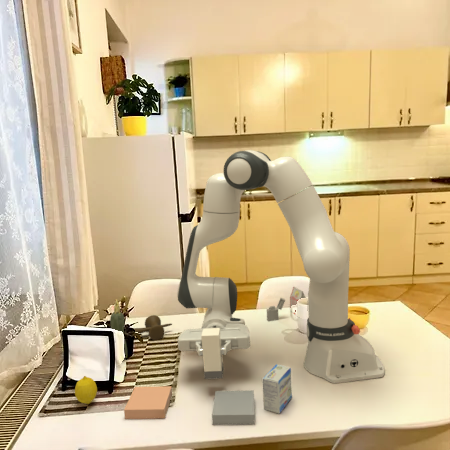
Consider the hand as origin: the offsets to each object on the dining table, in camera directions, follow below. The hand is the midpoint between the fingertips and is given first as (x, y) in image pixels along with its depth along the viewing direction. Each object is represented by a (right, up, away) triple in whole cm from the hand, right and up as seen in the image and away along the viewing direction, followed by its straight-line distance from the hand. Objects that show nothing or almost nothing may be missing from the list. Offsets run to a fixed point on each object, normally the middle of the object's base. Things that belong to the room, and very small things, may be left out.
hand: (212, 352), depth 109 cm
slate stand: (+6, -13, -6) cm, 15 cm away
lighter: (+23, -2, +48) cm, 53 cm away
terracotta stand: (-16, -13, -2) cm, 21 cm away
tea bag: (+32, -1, +52) cm, 61 cm away
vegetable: (-30, -10, +23) cm, 39 cm away
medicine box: (+17, -12, -4) cm, 21 cm away
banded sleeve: (+1, -6, +2) cm, 7 cm away
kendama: (-25, -7, +39) cm, 47 cm away
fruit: (-33, -14, 0) cm, 36 cm away
